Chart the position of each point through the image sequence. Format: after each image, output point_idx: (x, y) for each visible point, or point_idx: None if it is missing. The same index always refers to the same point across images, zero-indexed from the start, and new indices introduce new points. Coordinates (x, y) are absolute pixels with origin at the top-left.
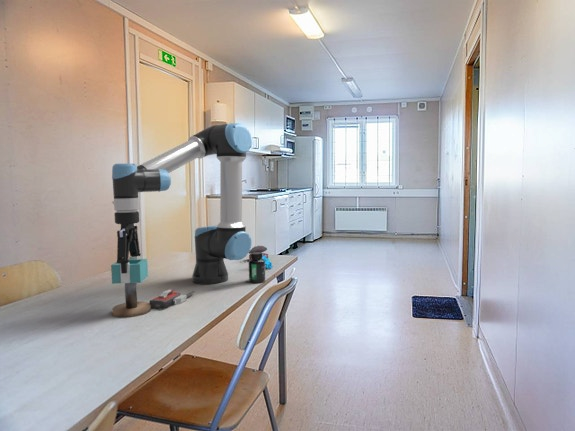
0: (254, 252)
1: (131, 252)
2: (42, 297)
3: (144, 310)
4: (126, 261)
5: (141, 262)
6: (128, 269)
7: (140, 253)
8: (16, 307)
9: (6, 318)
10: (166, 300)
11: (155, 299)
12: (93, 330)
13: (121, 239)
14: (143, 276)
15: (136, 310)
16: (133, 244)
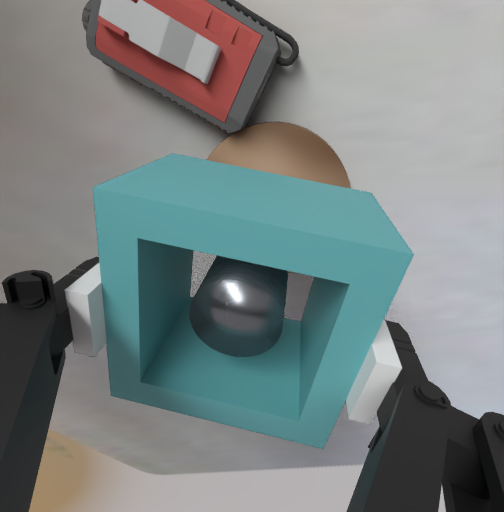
0: None
1: (55, 375)
2: (81, 428)
3: (329, 147)
4: (446, 403)
5: (301, 239)
6: (384, 324)
7: (6, 280)
8: (160, 460)
9: (243, 468)
10: (252, 29)
11: (233, 99)
12: (451, 305)
13: None
14: (291, 183)
15: (332, 182)
16: (8, 472)
